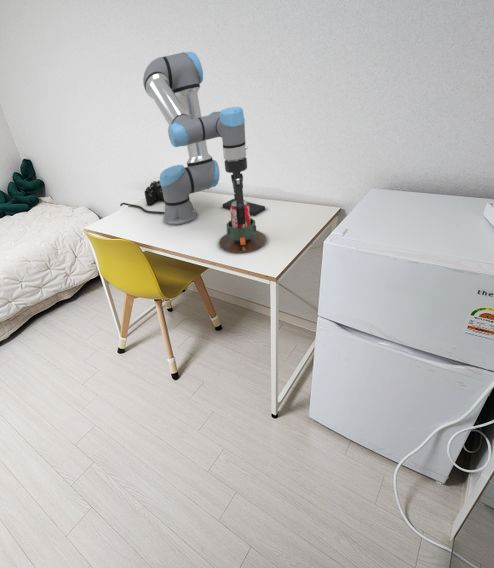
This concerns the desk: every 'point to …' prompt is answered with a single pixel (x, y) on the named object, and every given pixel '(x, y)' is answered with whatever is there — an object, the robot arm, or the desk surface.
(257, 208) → the smart home device
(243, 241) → the cup holder
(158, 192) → the film camera
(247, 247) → the holder base
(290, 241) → the desk surface
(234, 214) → the soda can
